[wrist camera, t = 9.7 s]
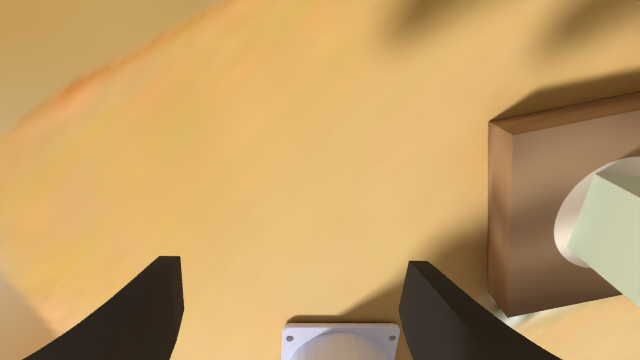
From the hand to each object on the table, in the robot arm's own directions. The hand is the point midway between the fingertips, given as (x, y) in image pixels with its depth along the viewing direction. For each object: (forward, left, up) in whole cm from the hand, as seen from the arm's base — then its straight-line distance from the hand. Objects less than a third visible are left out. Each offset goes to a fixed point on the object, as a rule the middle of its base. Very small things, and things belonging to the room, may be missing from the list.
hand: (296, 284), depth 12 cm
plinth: (-1, -18, -10) cm, 21 cm away
